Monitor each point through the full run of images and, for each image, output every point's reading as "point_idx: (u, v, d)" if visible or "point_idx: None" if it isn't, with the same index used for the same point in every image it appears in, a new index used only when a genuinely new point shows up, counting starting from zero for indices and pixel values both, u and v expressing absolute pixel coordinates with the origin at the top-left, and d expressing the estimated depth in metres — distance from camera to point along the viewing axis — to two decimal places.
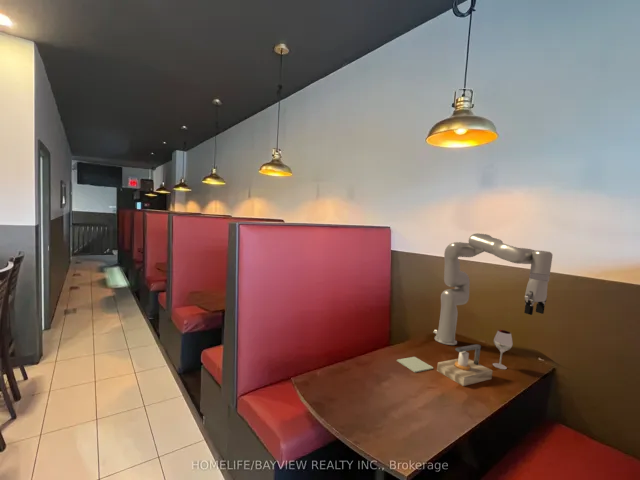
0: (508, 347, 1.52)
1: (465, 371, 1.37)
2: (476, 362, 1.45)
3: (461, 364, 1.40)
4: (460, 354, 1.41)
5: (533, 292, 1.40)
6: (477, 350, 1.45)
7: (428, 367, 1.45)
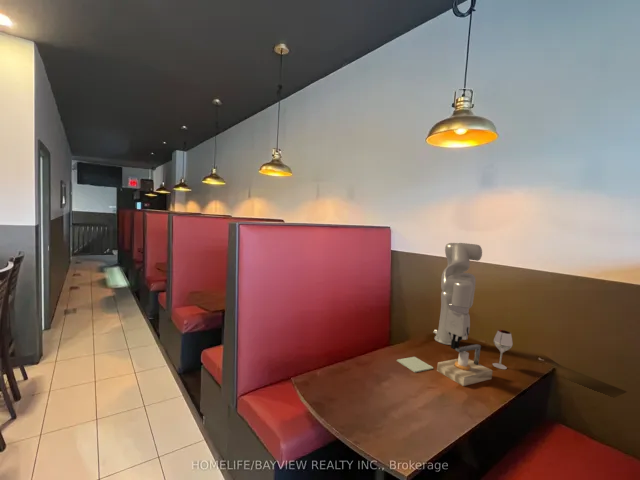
0: (508, 347, 1.52)
1: (465, 371, 1.37)
2: (476, 362, 1.45)
3: (461, 364, 1.40)
4: (460, 354, 1.41)
5: (468, 327, 1.37)
6: (477, 350, 1.45)
7: (428, 367, 1.45)
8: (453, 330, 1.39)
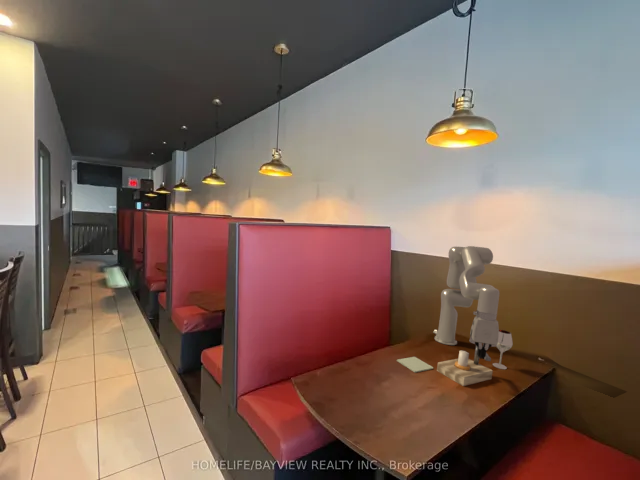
0: (508, 347, 1.52)
1: (465, 371, 1.37)
2: (478, 362, 1.46)
3: (461, 364, 1.40)
4: (460, 354, 1.41)
5: None
6: None
7: (428, 367, 1.45)
8: (486, 340, 1.30)
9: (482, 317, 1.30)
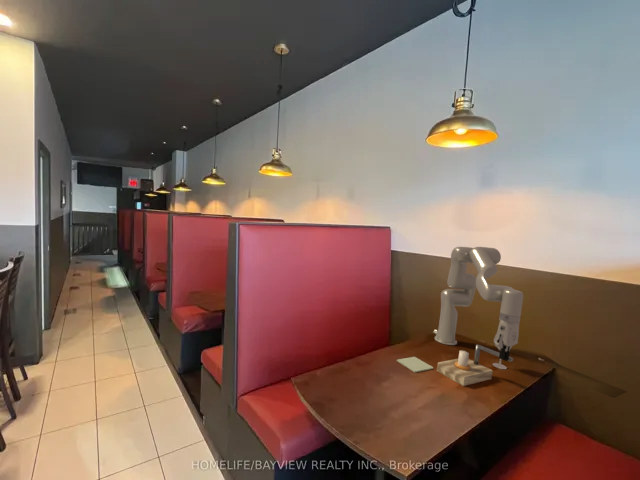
0: None
1: (465, 371, 1.37)
2: None
3: (461, 364, 1.40)
4: (460, 354, 1.41)
5: None
6: None
7: (428, 367, 1.45)
8: (513, 342, 1.31)
9: (513, 321, 1.29)
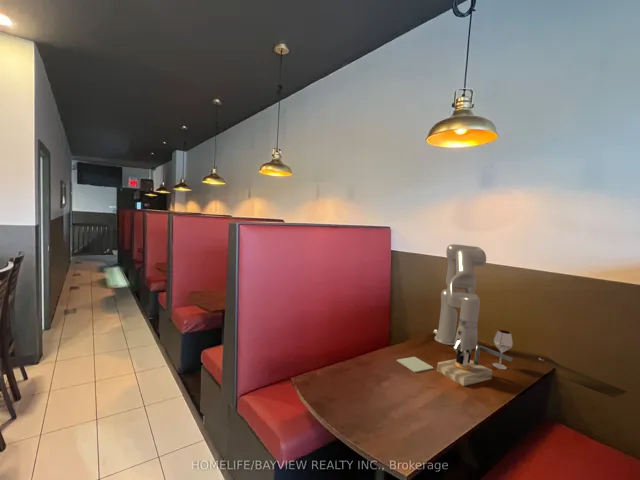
0: (508, 347, 1.52)
1: (465, 371, 1.37)
2: None
3: None
4: None
5: None
6: None
7: (428, 367, 1.45)
8: (471, 346, 1.39)
9: (469, 326, 1.37)
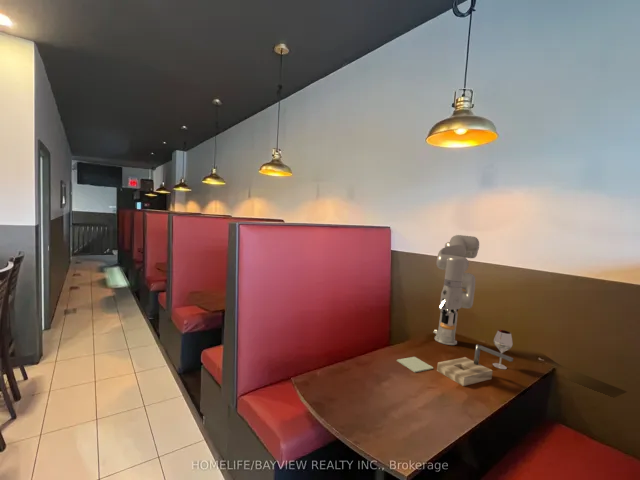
0: (508, 347, 1.52)
1: (465, 371, 1.37)
2: None
3: (446, 324, 1.41)
4: None
5: None
6: None
7: (428, 367, 1.45)
8: (455, 306, 1.40)
9: (454, 286, 1.38)
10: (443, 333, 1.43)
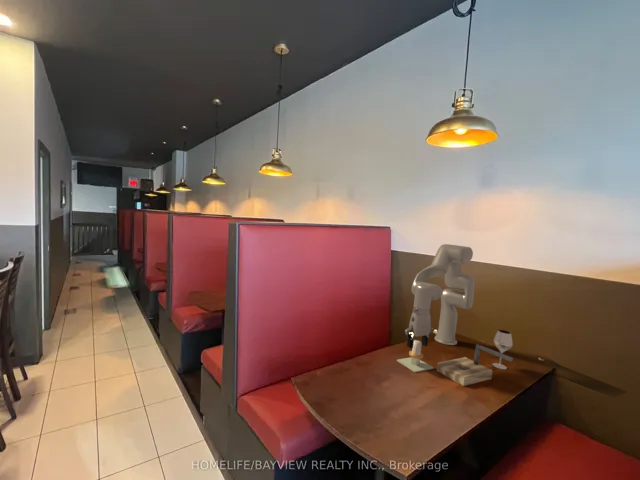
0: (508, 347, 1.52)
1: (465, 371, 1.37)
2: None
3: (414, 353, 1.46)
4: (413, 343, 1.47)
5: None
6: None
7: (428, 367, 1.45)
8: (423, 332, 1.45)
9: (422, 313, 1.43)
10: (411, 361, 1.47)
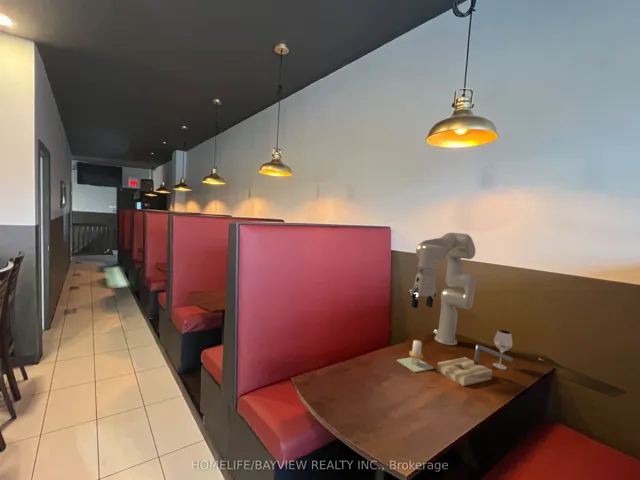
0: (508, 347, 1.52)
1: (465, 371, 1.37)
2: None
3: (414, 353, 1.46)
4: (414, 343, 1.47)
5: None
6: None
7: (428, 367, 1.45)
8: (428, 292, 1.44)
9: (427, 273, 1.42)
10: (411, 361, 1.47)
